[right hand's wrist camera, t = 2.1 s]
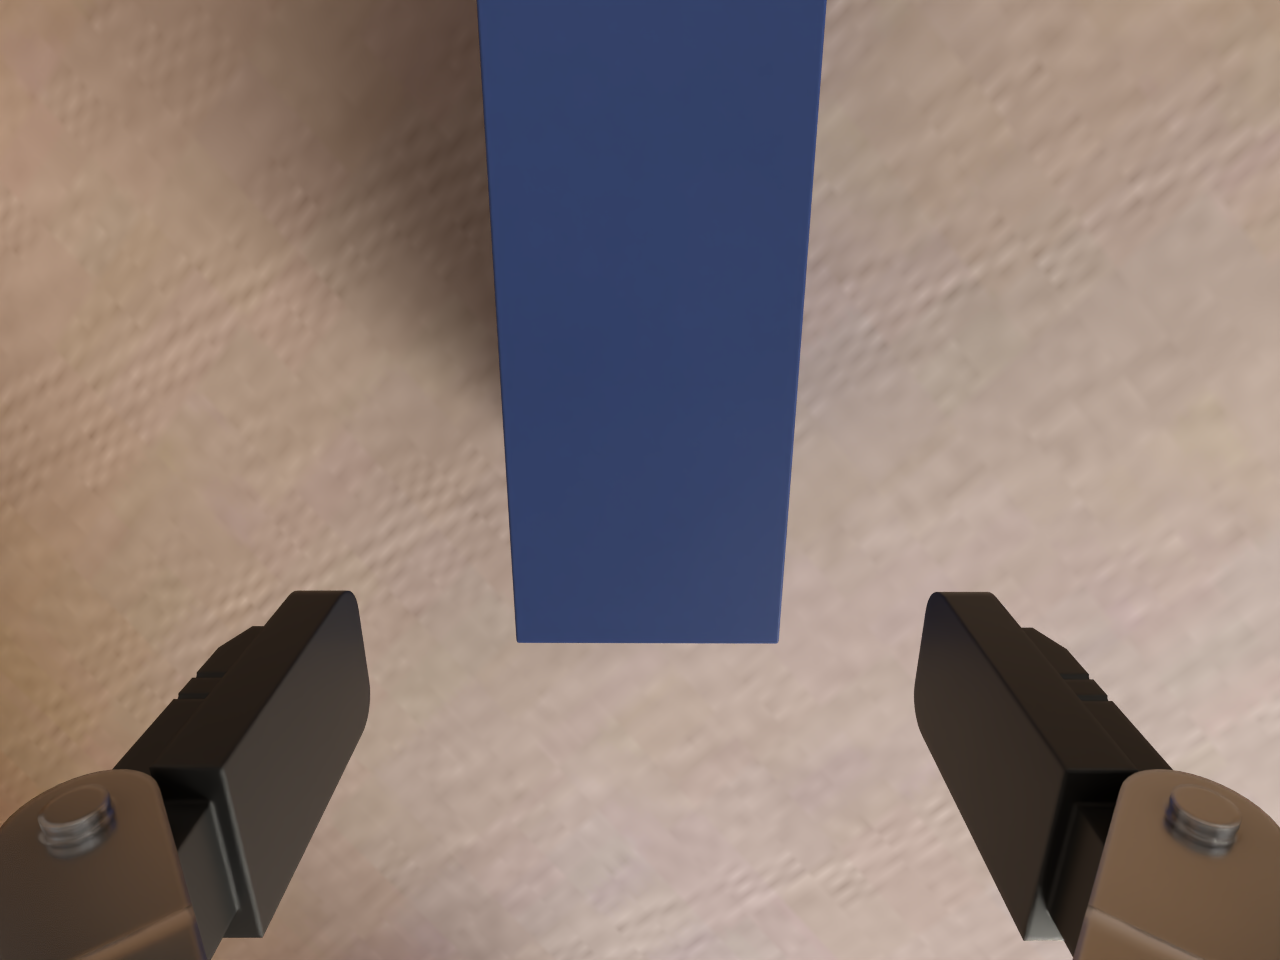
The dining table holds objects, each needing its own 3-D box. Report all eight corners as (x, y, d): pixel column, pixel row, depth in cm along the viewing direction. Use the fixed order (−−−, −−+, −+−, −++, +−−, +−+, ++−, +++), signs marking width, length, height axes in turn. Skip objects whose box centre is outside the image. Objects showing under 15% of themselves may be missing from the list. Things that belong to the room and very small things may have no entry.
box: (728, 468, 28) (778, 644, 18) (562, 468, 28) (516, 643, 18) (765, -368, 20) (898, -949, 10) (533, -368, 20) (416, -949, 10)
